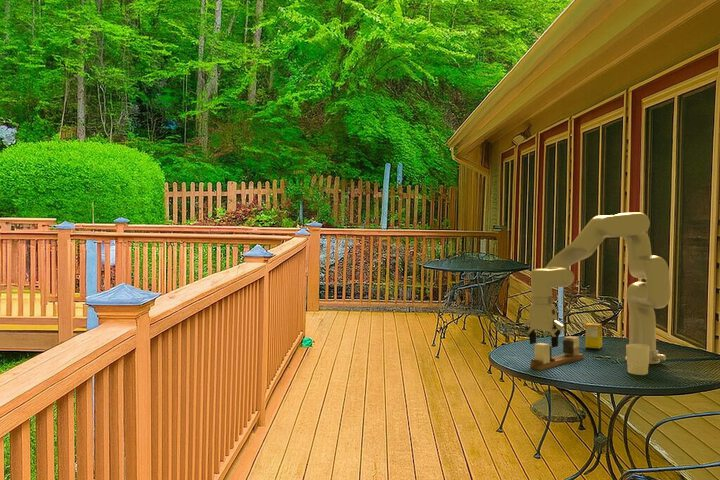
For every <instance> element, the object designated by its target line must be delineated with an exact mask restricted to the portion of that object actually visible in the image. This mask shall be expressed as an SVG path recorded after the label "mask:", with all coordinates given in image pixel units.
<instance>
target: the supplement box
mask: <svg viewBox="0 0 720 480" xmlns="http://www.w3.org/2000/svg"><path fill="white" fill-rule="evenodd" d="M602 324H603V323H597V322H596V323H595V322H587V323H585V325H584V327H585V328H584V329H585V331H584V332H585V349H586V350H594V351H595V350H597V351H600V350H601V349H602V348H603V325H602Z"/></svg>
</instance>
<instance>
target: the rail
mask: <svg viewBox="0 0 720 480" xmlns="http://www.w3.org/2000/svg"><path fill="white" fill-rule="evenodd" d="M562 349H563V350H562V352H563V353H564V354H559V355H556V356H552V359H551V360H550V362H549V363H545V364H543V361H539V360H535V358H534V359H533V358H532V359H530V369H535V370H539V371H543V370H548V369H551V368H554V367H559V366H562V365H565V364H569V363H573V362H577V361H580V360H581V361H582V360H584V359H585V357H584V356H585V355H584V353H580V337H578V336H572V335H570V336H565V337H564V339H563V340H562Z"/></svg>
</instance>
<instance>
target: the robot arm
mask: <svg viewBox="0 0 720 480" xmlns="http://www.w3.org/2000/svg"><path fill="white" fill-rule="evenodd" d="M650 225H651V222H650V219H649V217H648V216H647V215H646V214H645V213H643V212H621V213H617V214H614V215H613V214H610V215H607V214H606V215H605V214H604V215H595V216H594V217H592V218H591V219H590V220H589V221H588V223H587V224H586V225H585V226H584V228H583V229H582V230H581V231H580V233H578V235H577V236H576V237H575V239H574V240H573V241H572V242H571V243H569V244H568V245H567V246H565V247H564V248H563V249H562V250H560V251H559V252H558V253H556V254H555V255H554V256H553V257H552V258H551V259H550V261H549V262H548V263H547V264H546V266H544V268H533V269H532V270H531V271H530V283H531V304H530V306H529V307H530V309H529V318H527V319H525V320H523V322H522V323H523V326H524V328H525V330H526V331H527V333H528V334H529V338H528V339H529V344H530V345H534V344H537V334H536V331H543V332H549V334H551V337H550V340H551V341H550V342H551V344H550V345H551V348H557V347H558V346H559V336H560V335H561V334H562V332H563V330H564V327H565V326H564V324H562V323H560V322H559V321H558V314H557V308H556V305H555V304H553V303H555V302H556V300H555V298H554V297H553V287H555V288H567V287H569V286H571V285H572V284H573V282H574V280H575V274H574V272H573V271H572V270H571V269H569V268H570V267H571V266H573V264H576V263H578V262H580V261H583V260H585V259H588V258H590V257H591V256H592V255H593V254H594V252H596V250H597V249H598V248H599V246H600V245H601V243H602V242H603V241H604V240H605V239H606V238H622V239H624V241H625V243H626V248H627V259H628V261H627V262H628V263H627V264H628V271H629V274H630V275H631V276H632V277H633V278H635V279H636V278H637V279H642V280H645V281H635V282H633V283H631V284H630V285H628V287H627V289H626V300H627V305H628V312H629V313H628V315H629V316H628V319H629V320H628V327H629V330H628V337H629V339H628V340H629V342H628V344H643V345H648V346H649V347H650V349H649V365H655V364H657V365H658V364H659V363H661V361H666V359H667V357H666V354H660V353H659V350H657V346H656V345H657V340H656V338H657V337H656V335H657V333H656V332H657V331H656V329H657V328H656V325H657V324H656V323H657V321H656V320H657V319H656V312H655V310H654V309H656V310H657V309H664V308H665V307H666V306H667V305H668V304H669V302H670V299H671V284H670V283H671V280H670V268H669V265H668V263H667V261H666V260H665V259H664V258H663V257H662V256H658V255H653V253H652V246H651V241H650V240H651V239H650V237H649V235H648V233H647V231H648V230H649V229H650ZM624 359H625V361H626V362H627V356H626V355H625V356H624Z"/></svg>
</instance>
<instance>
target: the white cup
mask: <svg viewBox="0 0 720 480" xmlns="http://www.w3.org/2000/svg"><path fill="white" fill-rule="evenodd" d="M649 349H650V347H649V346H648V345H643V344H629V343H627V344H626V345H625V350H626V351H625V353H626V355H625V357H626V356H627V361H626V365H627V373H629V374H630V375H636V376H638V375H639V376H645V375H648V373H649V365H650V364H649Z"/></svg>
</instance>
